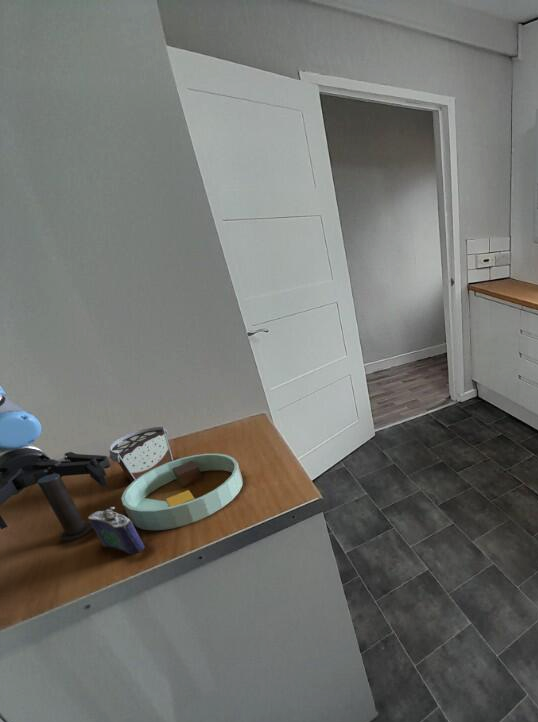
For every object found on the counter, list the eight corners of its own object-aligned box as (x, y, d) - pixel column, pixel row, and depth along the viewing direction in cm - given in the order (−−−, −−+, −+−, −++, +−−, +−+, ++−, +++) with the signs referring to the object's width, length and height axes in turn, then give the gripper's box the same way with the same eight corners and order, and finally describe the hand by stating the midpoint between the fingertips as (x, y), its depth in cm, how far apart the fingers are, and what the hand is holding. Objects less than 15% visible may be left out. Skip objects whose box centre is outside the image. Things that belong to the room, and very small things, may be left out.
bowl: (112, 511, 88) (102, 490, 86) (213, 463, 105) (206, 445, 102) (161, 546, 79) (151, 524, 77) (262, 488, 96) (257, 468, 94)
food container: (158, 456, 106) (143, 423, 102) (179, 459, 106) (165, 425, 101) (109, 487, 95) (91, 452, 91) (132, 490, 94) (115, 454, 90)
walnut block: (177, 482, 96) (171, 468, 94) (196, 474, 99) (192, 460, 97) (183, 489, 94) (178, 474, 92) (203, 480, 97) (198, 466, 95)
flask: (103, 553, 78) (79, 509, 73) (121, 541, 80) (98, 499, 76) (138, 565, 75) (115, 521, 71) (155, 553, 78) (134, 510, 73)
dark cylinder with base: (61, 544, 79) (26, 481, 73) (90, 529, 83) (59, 468, 77) (72, 552, 78) (36, 488, 72) (101, 536, 81) (70, 474, 75)
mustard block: (171, 514, 86) (165, 499, 85) (193, 504, 89) (188, 489, 88) (176, 522, 84) (170, 507, 82) (199, 512, 87) (194, 497, 85)
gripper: (104, 451, 97) (144, 481, 87) (-66, 513, 77) (-40, 560, 68) (92, 424, 94) (131, 451, 84) (-89, 481, 74) (-65, 525, 65)
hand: (55, 500), depth 76 cm, fingers open, 13 cm apart
